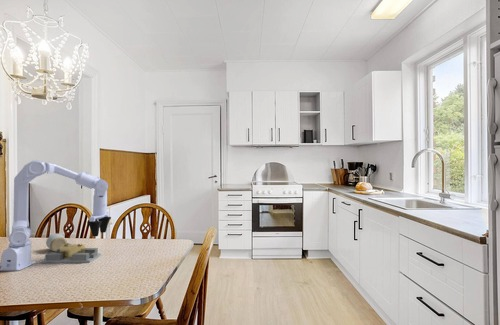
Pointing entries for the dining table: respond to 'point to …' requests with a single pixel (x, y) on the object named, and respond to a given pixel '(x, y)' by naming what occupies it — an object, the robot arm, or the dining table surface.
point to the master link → (71, 249)
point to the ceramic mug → (55, 242)
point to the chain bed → (68, 260)
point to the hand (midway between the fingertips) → (99, 234)
